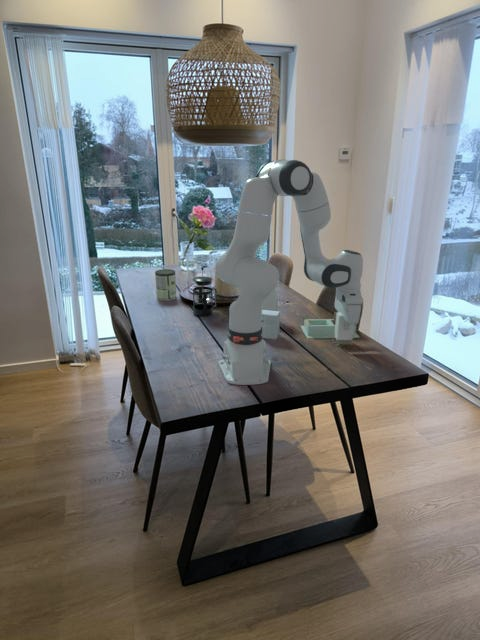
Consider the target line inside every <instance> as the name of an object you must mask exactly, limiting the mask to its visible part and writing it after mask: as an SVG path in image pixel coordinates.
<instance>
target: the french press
mask: <svg viewBox="0 0 480 640" xmlns="http://www.w3.org/2000/svg"><path fill="white" fill-rule="evenodd" d="M207 267H208V266H207V265H204V264H203V265H198V266H197V268H198V269H199V268H200V269H201V276H196V277H193V278H192V281H193V282H195V284H196V285H197V286H196V287H194V288H192V295H193V297H192V299H193V302H192V303H193V312H192V313H193V316H195V317H200V318H205V317H211V316H212V315H213V314H214V310H213V309H214V308H217V302H218V301H217V294H218V293H217V288H216V287H215V288H214V287H210V285H212V281H213V277H210V276H204V269H205V268H207ZM204 290H206V291H204ZM213 291H214V305H213ZM195 295H198V298H195ZM208 295H211V296H210V297H211V298H208Z"/></svg>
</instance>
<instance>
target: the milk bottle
mask: <svg viewBox="0 0 480 640" xmlns="http://www.w3.org/2000/svg"><path fill="white" fill-rule="evenodd" d="M262 310H270V311H278V294H277V291H276V289H275V290H274V291H273V292H272V293H270V294H269V295H268V296H267V297H266V299H265V301H264V304H263V308H262Z"/></svg>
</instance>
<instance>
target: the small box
mask: <svg viewBox="0 0 480 640" xmlns="http://www.w3.org/2000/svg"><path fill="white" fill-rule="evenodd" d="M280 318H281V311H279V310H277V311H270V310H262V319H261V327H262V331H263V334H262V339H269V340H277V339H278V337H279V335H280V322H281V321H280Z"/></svg>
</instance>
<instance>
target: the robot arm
mask: <svg viewBox="0 0 480 640" xmlns="http://www.w3.org/2000/svg"><path fill="white" fill-rule="evenodd" d="M325 188H326V187H325V184H324V183H323V180H322V178H321V177H320V175H319V173H316V172H314V171H311V169H310V167H309V166H308V165H307V164H306V163H304V162H302V161H301V160H297V159H292V160H290V159H289V160H288V159H277V160H269V161H267V162H265V163H264V164H262V165H261V166H260V167H259V169H258V170H257V173H256V175H255V176H254V177H251V178H248V180H246V181H245V182H244V185H243V188H242V191H241V195H240V197H239V203H238V208H237V216H236V223H235V229H234V233H233V238H232V239H231V242H230V244H229V246H228V248H227V249H226V251H225V252H224V253H223V254H222V255H220V256H219V257H218V258H217V261H216V262H215V275H216V276H217V278H218V279H219V280H221V281H222V282H224V283H225V284H227V285H229V286H232V287H234V288H238V289H239V294H238V298H237V299H236V300H234V301H233V302H232V303H231V304H230V306H229V310H228V311H229V315H228V316H229V317H228V318H229V319H228V321H229V322H228V323H229V324H228V327H227V339H226V340H225V341H224V342H223V356H222V359H221V360H219V361H218V362H217V365H218V367H219V369H220V372H221V374H222V375H223V377H224V380H225V381H226V383H228V384H231V385H239V386H241V385H242V386H255V385H261V384H262V385H263V384H266V383H268V382H269V379H270V378H269V377H270V372H271V371H270V370H271V365H272V364H271V363H272V362H271V360H270V359H269V356H268V355H266V353H268V348H266V341H265V340H264V338H262V334H263V331H262V327H261V319H262V308H263V304H264V301H265V299H266V297H267V296H268V295H269V294H270V293H272V292H273V291H274V290H276V289H277V287H279V283H280V271H279V269H278V268H277V266H275V265H273V264H271V263H270V262H268V261H266V260H264V259H260V258H257V257H255V256H256V254H257V251H258V250H259V247H261V246H262V245H264V244H266V243H267V242H268V240H269V237H270V232H271V231H270V230H271V224H272V219H273V217H272V216H273V211H274V204H275V201H276V199H277V198H278V197H292V199H293V201H294V204H295V205H294V206H295V209H296V213H297V216H298V221H299V229H300V237H301V238H300V239H301V242H302V248H303V253H304V263H303V264H304V265H303V272H304V275H305V277H306V278H307V279H308V280H310V281H312V282H315V283H317V284H319V285H321V286H323V287H325V288H327V289H334V288H336V289H335V297H334V298H335V300H334V308H335V310H336V312H340V314H341V315H342V316H343V318H344V319H345V325H344V329H345V330H349V327H350V324H355V325H358V323H359V322H360V316H361V309H362V304H363V302H364V298H363V296H362V292H361V289H362V288H361V286H362V285H361V284H362V283H361V279H362V277H363V271H364V269H363V268H364V259H363V255H362V254H361V253H360V252H357V251H354V250H350V249H344V250H341V252H340V253H339V254H338V255H336V256H335V257H333V258H331V259H330V258H329V259H328V258H327V257H326V256H325V255H324V254H323V252H322V248H321V243H320V235H319V234H320V232H321V230H323V229H325V228H326V227H327V225H328V224H329V222H331V221H330V220H331V207H330V202H329V198H328V194H327V191H326V189H325Z"/></svg>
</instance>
